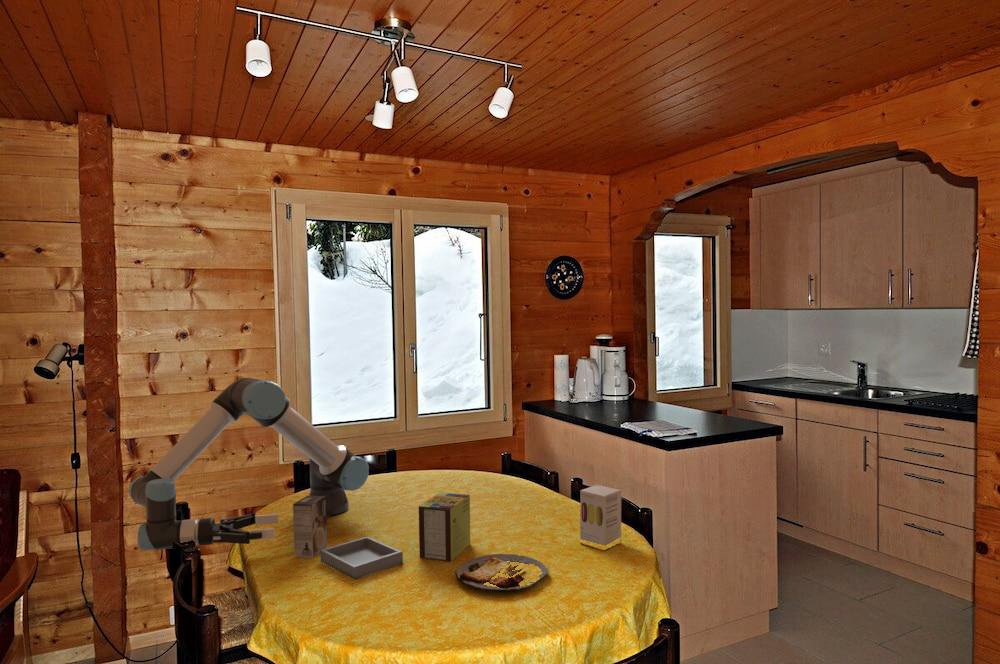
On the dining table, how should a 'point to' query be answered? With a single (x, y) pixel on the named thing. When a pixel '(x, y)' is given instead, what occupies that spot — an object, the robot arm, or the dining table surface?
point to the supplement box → (600, 514)
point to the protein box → (444, 526)
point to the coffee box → (310, 526)
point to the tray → (361, 557)
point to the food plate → (495, 571)
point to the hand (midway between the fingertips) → (276, 525)
